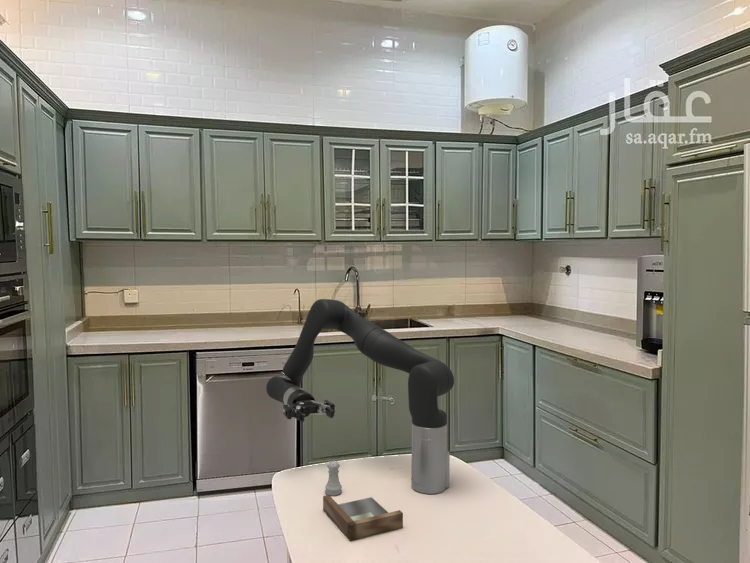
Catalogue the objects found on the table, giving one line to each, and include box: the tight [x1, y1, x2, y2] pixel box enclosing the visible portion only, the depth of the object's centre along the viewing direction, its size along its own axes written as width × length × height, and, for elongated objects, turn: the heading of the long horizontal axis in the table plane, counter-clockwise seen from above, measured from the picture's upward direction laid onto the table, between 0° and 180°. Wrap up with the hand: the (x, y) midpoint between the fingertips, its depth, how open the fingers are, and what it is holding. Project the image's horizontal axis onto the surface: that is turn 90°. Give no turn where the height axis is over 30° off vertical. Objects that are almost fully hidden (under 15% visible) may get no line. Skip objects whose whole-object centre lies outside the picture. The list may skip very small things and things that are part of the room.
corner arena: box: [322, 494, 404, 542], centre depth 127 cm, size 13×16×4 cm
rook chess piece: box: [324, 459, 343, 497], centre depth 141 cm, size 4×4×8 cm
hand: (317, 416), depth 150 cm, fingers open, 8 cm apart
